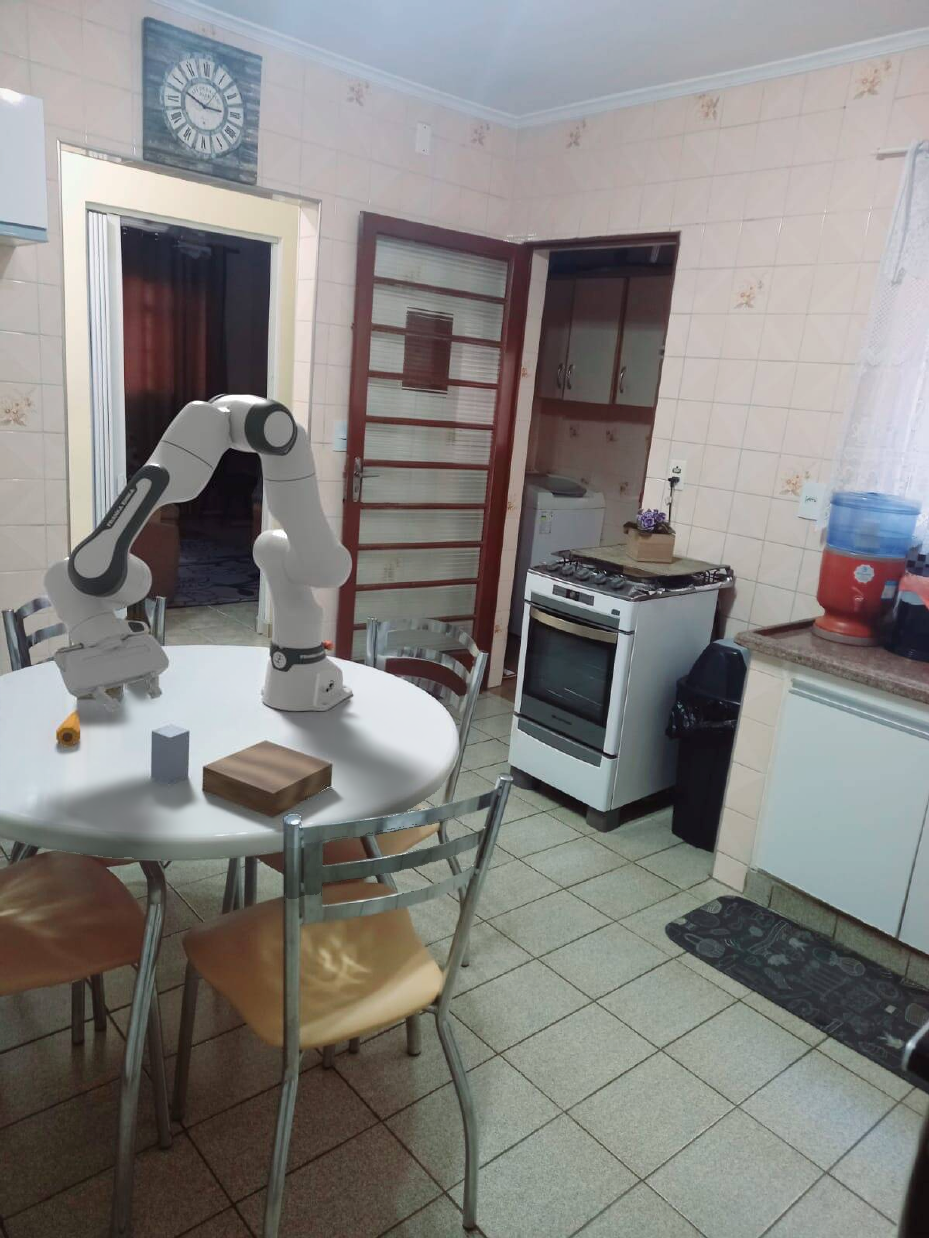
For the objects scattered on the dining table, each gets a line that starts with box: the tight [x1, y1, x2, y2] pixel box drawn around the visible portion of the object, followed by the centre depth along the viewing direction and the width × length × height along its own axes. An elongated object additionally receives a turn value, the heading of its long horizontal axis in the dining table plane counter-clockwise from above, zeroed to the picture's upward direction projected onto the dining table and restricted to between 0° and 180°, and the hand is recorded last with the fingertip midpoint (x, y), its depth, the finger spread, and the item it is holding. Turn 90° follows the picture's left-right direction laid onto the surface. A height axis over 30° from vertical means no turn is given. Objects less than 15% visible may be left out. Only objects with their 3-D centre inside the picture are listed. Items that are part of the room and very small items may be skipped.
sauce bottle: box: [124, 596, 152, 635], centre depth 204 cm, size 7×6×20 cm
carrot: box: [55, 709, 81, 746], centre depth 172 cm, size 20×4×4 cm, turn 19°
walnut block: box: [201, 740, 334, 819], centre depth 155 cm, size 16×16×5 cm
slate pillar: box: [150, 723, 190, 786], centre depth 155 cm, size 4×4×9 cm
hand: (136, 702), depth 157 cm, fingers open, 8 cm apart
